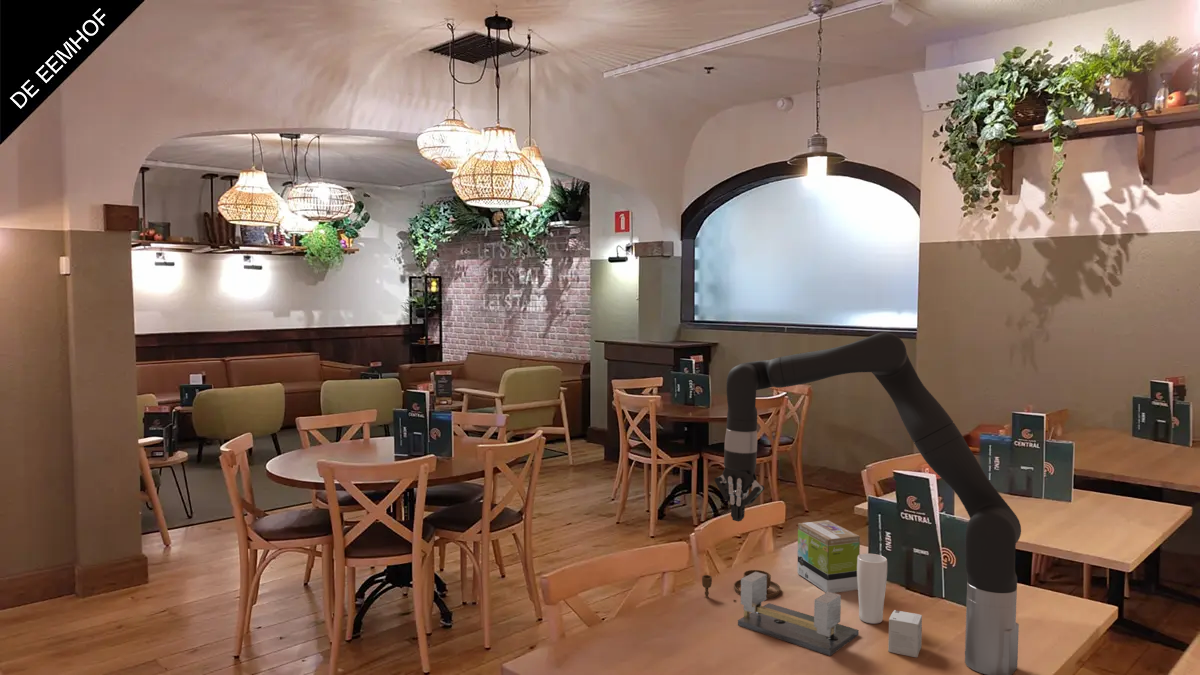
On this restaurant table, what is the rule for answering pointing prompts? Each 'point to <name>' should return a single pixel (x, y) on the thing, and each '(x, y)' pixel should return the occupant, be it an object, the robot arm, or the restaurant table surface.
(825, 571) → the tea box
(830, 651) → the bolt-hole plate
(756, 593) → the block
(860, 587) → the drinking glass
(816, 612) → the beam
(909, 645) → the skincare box
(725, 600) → the restaurant table surface
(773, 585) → the place setting
